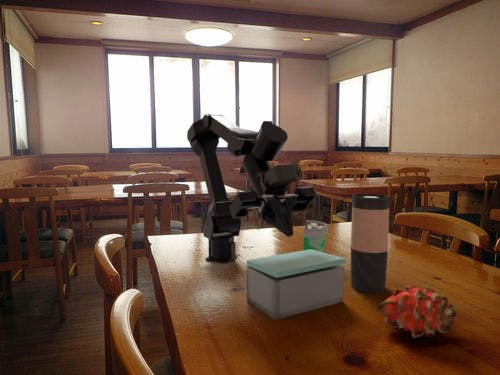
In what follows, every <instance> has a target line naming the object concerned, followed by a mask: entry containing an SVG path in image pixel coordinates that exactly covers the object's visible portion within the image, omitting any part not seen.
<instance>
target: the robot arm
mask: <svg viewBox="0 0 500 375" xmlns="http://www.w3.org/2000/svg"><path fill="white" fill-rule="evenodd" d="M186 137H187V141H188V142H189V145H190V148H191V151H193V152H194V153H195V155H197V156H198V157H199V162H200V164H201V169H202V173H203V178H204V181H205V186H206V191H207V194H208V198H209V203H210V204H209V207H208V211H207V213H206V216H207V219H206V221H205V223H204V225H203V227H202V235H203V237H204V238H206V239H208V240H207V241H208V256H207V257H205V261H208V262H209V261H211V262H217V263H223V264H227V263H229V262H230V261H232V260H234V259H236V258H237V257H238V255H237V252H236V250H237V246H236V245H237V244H236V242H235V237H239V236H240V232H241V226H242V222H243V221H242V219H243V218H246V216H247V215H248V213H249V211H248V210H247V209H258V212H259V214H258V215H257V218H258V219H259V220H264V222H266V223H268V224H269V225H271V226H273V227H274V228H275V229H277V231H279V232H281V233H282V235H283V234H284V235H285V236H286V237H287V238H291V237H293V235H294V226H293V217H292V216H293V212H294V213H297V212H298V213H299V212H305V211H306V210H308V208H309V207H310V206H311V204H312V203H313V201H315V199H316V198H317V196H318V194H317V192H316V191H315V189H314V187H313V186H303V187H302V186H300V187H295V189H294V190H293V192H292V193H288V194H286V192H288V191H289V189H290V184H292V183H293V182H296V181H298V180H299V179H300V178H301V177H302V176H303V171H302V168H301V166H300V165H299V163H298V162H291V163H289V164H278V165H274V166H273V167H272V165H271V163H270V162H274V161H275V160H276V159H277V157H278V156H279V154H280V152H281V151H282V149H283V147H284V146H285V144H286V142H287V140H288V137H289V136H288V133H287V131H286V130H285V129H283V128H281V127H280V126H278V125H276V124H274V123H273V122H272V120H263V121H262V123H261V125H260V129H259V130H258V131H256V130H251V129H244V128H241V127H240V126H238V125H237V124H236V123H235V124H234V122H232V121H230V120H229V119H227V118H226V117H225V115H224V114H222V113H209V112H208V113H206V114H204V115H203V117H201V118H200V119H198V120H196V121H195V122H192V124H191V125H190V127H189V128H188V130H187V133H186ZM220 139H222V140H223V141H224V142H226V149H227V151H229V153H230V155H232V157H234V158H238V157H240V158H241V157H243V159H242V161H241V166H240V168H239V173H240V174H246V176H247V178H248V181H249V183H250V185H249V187H248V189H249V190H245V191H237V193H236V195H235V196H234V199H233V200H231V199H229V196H228V194H227V193H228V192H227V189H226V186H225V182H224V177H223V174H222V170H221V166H220V163H219V159H218V154H217V149H218V146H219V143H220Z"/></svg>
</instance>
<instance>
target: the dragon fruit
mask: <svg viewBox="0 0 500 375" xmlns="http://www.w3.org/2000/svg"><path fill="white" fill-rule="evenodd" d="M423 288H425V289H423ZM379 311H381V312H382V313H383V314H384V315H388V316H386V317H384V322H385V323H386V324H388V325H389V326H390V327H391V328H393V329H394V328H395V329H397V328H398V329H399V330H402V331H405V332H411V337H412V338H413V339H417V338H420V337H423V336H424V335H425V336H426V337H427V338H428V337H429V338H430V337H431V338H432V337H434V335H436V332H437V331H438V332H439V333H442V334H443V333H444V334H447V333H449V330H450V329H451V328H452V326H453V323H454V320H455V318H456V316H457V315H458V313H457V311H455V306H454V305H453V304H452V303H451V302H450V301H449V300H448V297H446V296H445V295H442V294H440V293H436V291H435V290H434V289H432V288H431V287H430V286H428V285H423V287H416V286H415V285H413V284H412V285H411V284H410V285H405V287H404V288H401V289H399V288H398V289H395V291H394V293H393V294H392V295H390V297H388V298H386V300H384V301H382V302H380V304H379V305H378V306H377V307H376V312H379Z"/></svg>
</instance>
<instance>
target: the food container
mask: <svg viewBox="0 0 500 375" xmlns="http://www.w3.org/2000/svg"><path fill="white" fill-rule="evenodd" d="M327 225H328V224H327V223H325V222H323V221H318V220H312V219H311V220H310V219H306V220H305V227H304V228H303V234H302V235H303V237H302V238H303V240H302V241H303V245H302V246H303V248H302V249H303V250H309V249H312V250H316V251H320V252H323V253H325V249H326V240H327V239H326V237H327V236H328V235H329V227H328V226H327ZM303 250H302V251H303Z"/></svg>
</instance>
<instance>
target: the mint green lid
mask: <svg viewBox="0 0 500 375" xmlns="http://www.w3.org/2000/svg"><path fill="white" fill-rule="evenodd" d="M346 259H347V258H345V257H343V256H342V257H341V256H337V255H334V254H330V253H327V252H324V253H323V252H320V251H316V250H312V249H309V250H299V251H292V252H288V253H280V254H276V255H271V256H270V255H269V256H264V257H257V258H253V259H246V267H247V266H250V267H252V268H254V269H257V270H259V271H262V272H264V273H266V274H269V275H271V276H274V277H276V278H279V277H284V276H288V275H293V274H298V273H303V272H308V271H312V270H317V269H322V268H327V267H332V266H336V265H339V266H342V265H344V264H345V265H346Z"/></svg>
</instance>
